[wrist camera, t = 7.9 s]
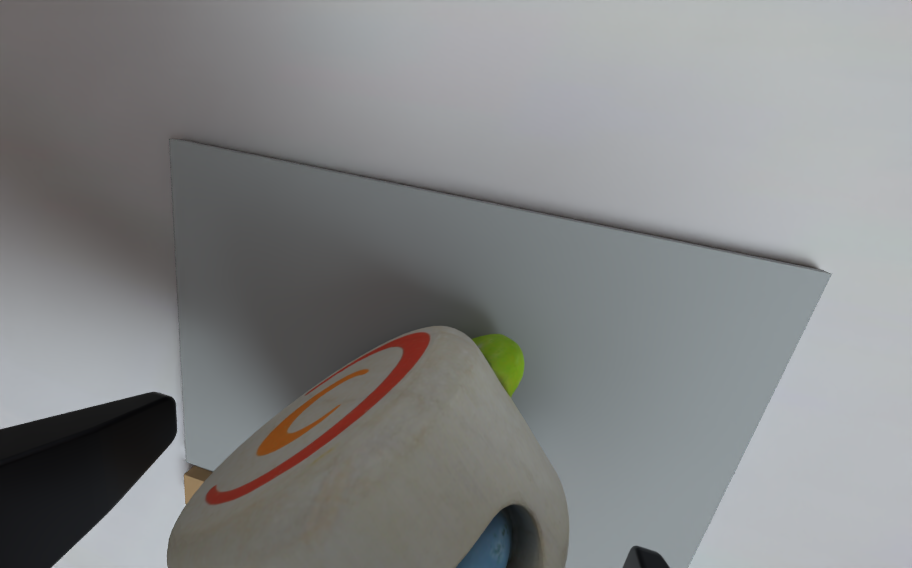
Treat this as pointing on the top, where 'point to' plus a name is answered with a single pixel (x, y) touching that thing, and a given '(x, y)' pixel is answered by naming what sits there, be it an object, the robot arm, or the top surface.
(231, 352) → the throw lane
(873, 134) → the top surface
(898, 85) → the top surface
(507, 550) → the roller toy
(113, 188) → the top surface
